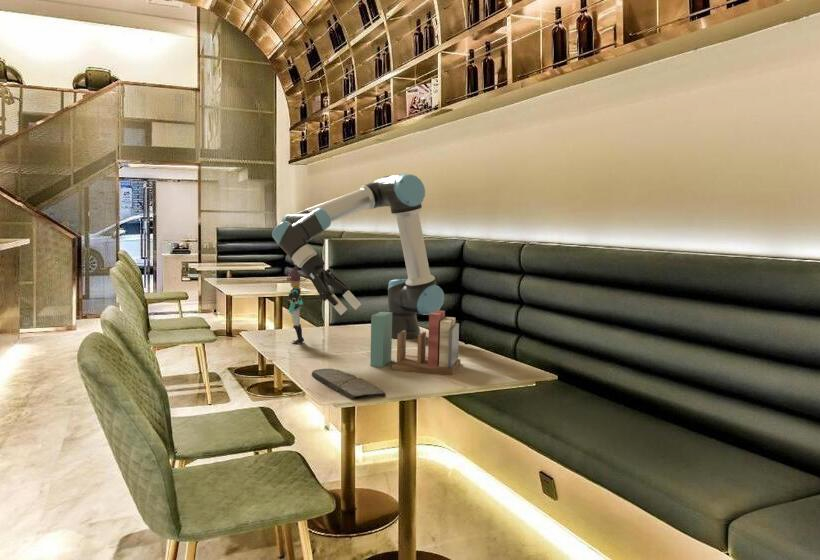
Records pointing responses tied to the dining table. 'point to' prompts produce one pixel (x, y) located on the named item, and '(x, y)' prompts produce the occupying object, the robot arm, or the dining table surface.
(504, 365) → the dining table surface
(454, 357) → the book rack
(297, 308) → the figurine
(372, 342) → the book
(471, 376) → the dining table surface
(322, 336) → the dining table surface
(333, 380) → the stone slab
